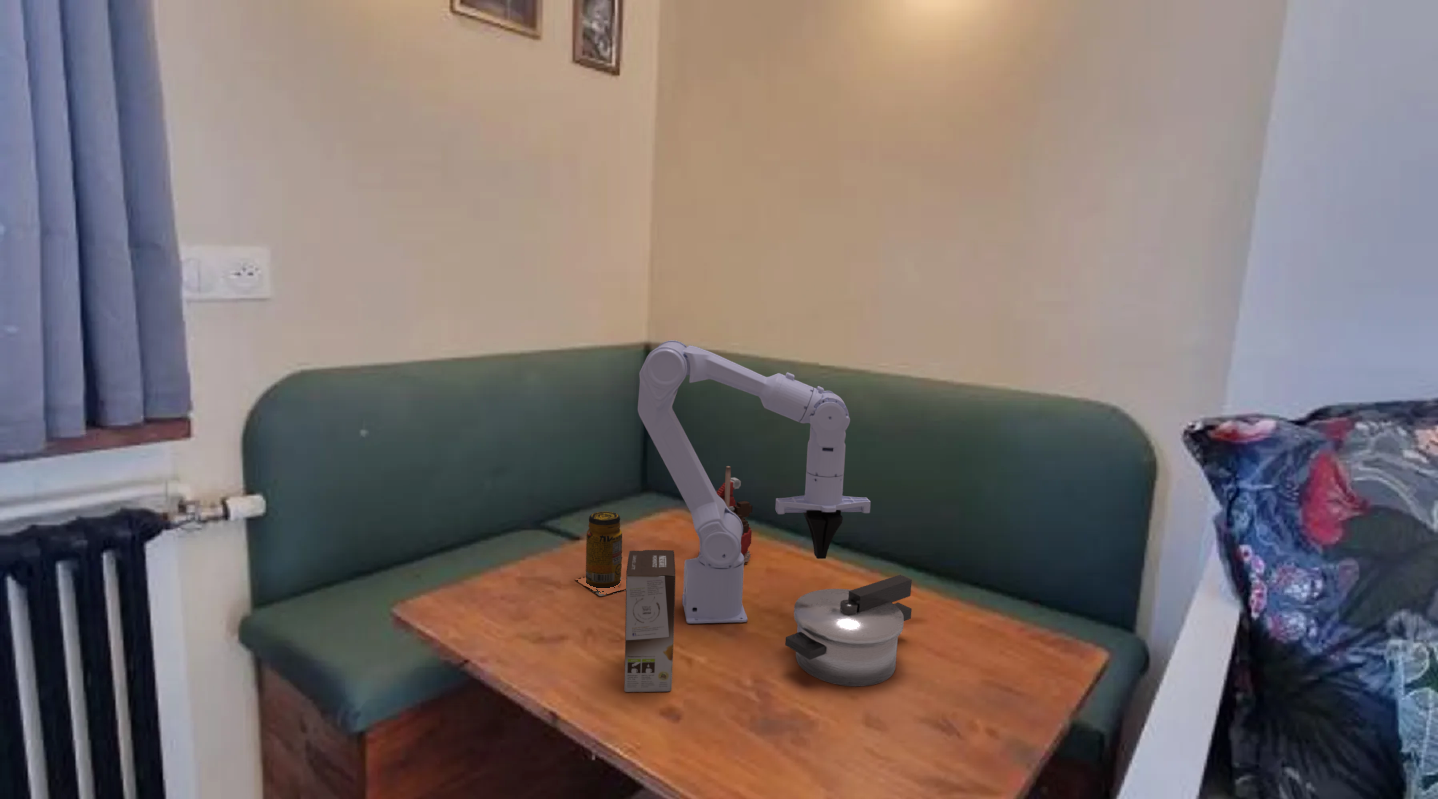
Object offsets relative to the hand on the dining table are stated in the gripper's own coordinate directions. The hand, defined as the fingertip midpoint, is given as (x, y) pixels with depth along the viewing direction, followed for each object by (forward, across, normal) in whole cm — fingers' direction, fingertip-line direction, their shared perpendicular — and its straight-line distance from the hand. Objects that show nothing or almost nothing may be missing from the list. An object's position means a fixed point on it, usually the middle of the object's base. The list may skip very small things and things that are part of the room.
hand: (819, 556), depth 123 cm
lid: (+4, +3, -12) cm, 13 cm away
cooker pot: (+10, +2, -12) cm, 16 cm away
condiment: (+10, -33, +15) cm, 38 cm away
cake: (+11, -11, +25) cm, 29 cm away
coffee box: (+10, -27, -15) cm, 33 cm away
